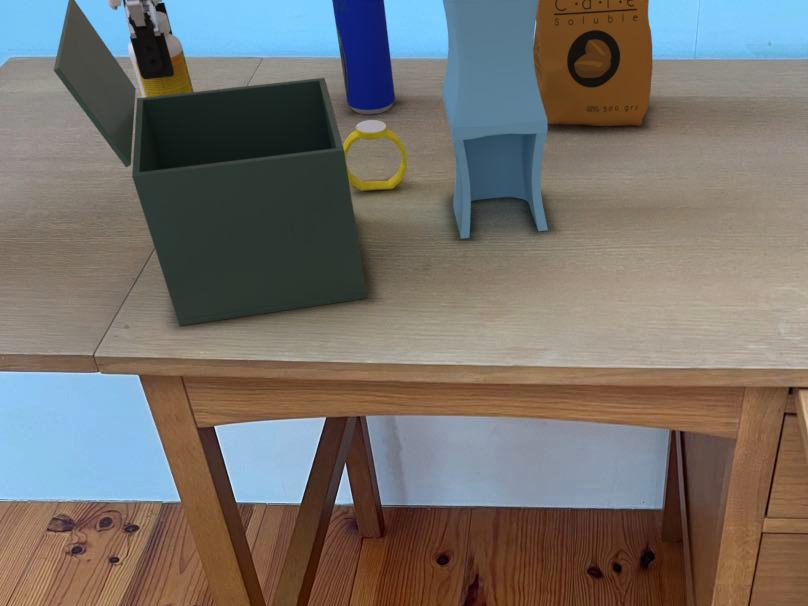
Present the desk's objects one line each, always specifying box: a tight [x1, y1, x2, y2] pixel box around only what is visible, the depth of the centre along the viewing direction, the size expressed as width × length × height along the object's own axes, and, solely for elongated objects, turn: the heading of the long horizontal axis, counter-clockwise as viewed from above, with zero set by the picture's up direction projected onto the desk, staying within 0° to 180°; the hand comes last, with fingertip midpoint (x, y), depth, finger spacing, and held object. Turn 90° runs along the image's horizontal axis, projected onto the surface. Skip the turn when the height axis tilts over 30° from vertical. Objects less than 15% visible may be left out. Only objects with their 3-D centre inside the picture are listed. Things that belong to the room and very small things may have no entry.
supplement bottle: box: [126, 11, 195, 98], centre depth 105 cm, size 5×5×10 cm
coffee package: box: [533, 0, 654, 127], centre depth 99 cm, size 10×12×22 cm
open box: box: [131, 77, 368, 327], centre depth 81 cm, size 15×14×12 cm
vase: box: [441, 0, 549, 240], centre depth 85 cm, size 8×8×20 cm
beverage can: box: [331, 0, 396, 115], centre depth 104 cm, size 5×5×15 cm
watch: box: [342, 119, 408, 192], centre depth 94 cm, size 6×3×6 cm, turn 101°
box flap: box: [53, 0, 137, 168], centre depth 73 cm, size 7×14×1 cm
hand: (158, 59), depth 104 cm, fingers open, 8 cm apart
